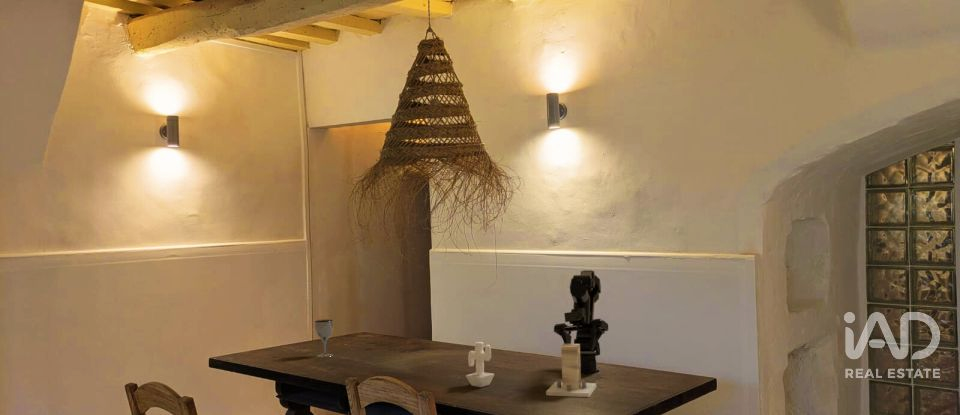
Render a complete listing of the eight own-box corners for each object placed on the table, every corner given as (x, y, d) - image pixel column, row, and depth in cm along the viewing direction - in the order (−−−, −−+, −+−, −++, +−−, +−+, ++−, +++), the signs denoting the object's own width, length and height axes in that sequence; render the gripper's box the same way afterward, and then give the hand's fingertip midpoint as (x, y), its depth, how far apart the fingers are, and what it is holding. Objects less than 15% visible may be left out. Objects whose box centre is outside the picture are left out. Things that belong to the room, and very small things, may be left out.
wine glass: (325, 353, 349) (324, 318, 349) (338, 354, 344) (337, 320, 344) (311, 356, 343) (310, 321, 342) (324, 358, 338) (323, 322, 338)
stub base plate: (555, 385, 275) (555, 377, 275) (596, 386, 271) (596, 378, 271) (546, 395, 262) (546, 386, 262) (589, 397, 257) (588, 388, 257)
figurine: (476, 381, 285) (475, 339, 285) (497, 384, 279) (496, 341, 279) (463, 385, 279) (462, 342, 279) (484, 388, 273) (482, 344, 273)
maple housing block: (565, 385, 269) (564, 343, 269) (581, 385, 268) (579, 343, 268) (562, 388, 264) (561, 346, 264) (578, 389, 263) (576, 346, 263)
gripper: (547, 304, 283) (544, 346, 275) (594, 297, 273) (593, 341, 265) (562, 314, 291) (560, 356, 283) (609, 308, 281) (608, 351, 273)
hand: (579, 351), depth 276 cm, fingers open, 9 cm apart
